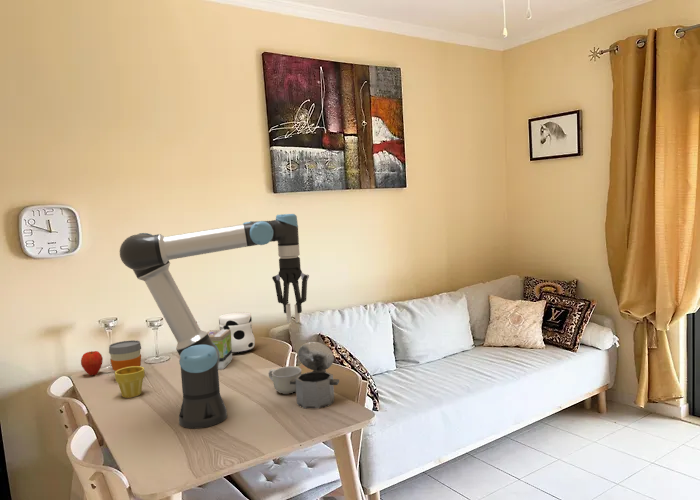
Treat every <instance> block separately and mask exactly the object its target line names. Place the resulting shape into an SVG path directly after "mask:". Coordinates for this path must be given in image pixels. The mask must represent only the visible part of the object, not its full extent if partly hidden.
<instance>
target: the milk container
mask: <svg viewBox="0 0 700 500" xmlns="http://www.w3.org/2000/svg"><path fill="white" fill-rule="evenodd" d="M252 321H253V318H252V313H251V312H245V311H243V312H242V311H238V312H237V311H236V312H235V311H234V312H229V313H224V314H221V315H219V316H218V324H219V325H218V328H219V330H227V329H230V330H231V344H232V355H233V354H235V355H236V354H242V353H246V352H249V351H250V352H251V351H252V350H253V349H254V348H255V345H256V338H255V335H254V332H253V322H252Z"/></svg>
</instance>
